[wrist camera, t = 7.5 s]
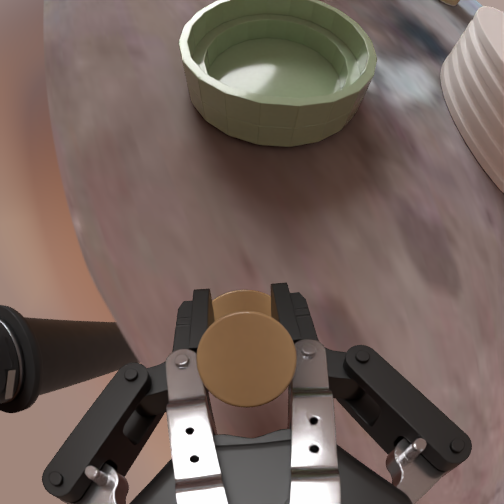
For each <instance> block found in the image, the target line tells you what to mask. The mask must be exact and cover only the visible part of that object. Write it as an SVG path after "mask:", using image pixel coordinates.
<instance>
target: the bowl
mask: <svg viewBox="0 0 504 504" xmlns="http://www.w3.org/2000/svg"><path fill="white" fill-rule="evenodd" d="M179 48H180V53H181V57H182V62H183V67H184V71H185V76H186V80H187V85H188V89H189V93H190V98H191V102H192V104H193V105H194V106H195V108H196V109H197V110H198V111H199V113H200V114H201V115H202V117H203V118H204V119H205V120H206V121H207V122H209V123H210V124H212V125H213V126H215V127H216V128H218V129H219V130H221V131H222V132H224V133H226V134H227V135H229V136H232V137H235V138H239V139H242V140H245V141H248V142H251V143H254V144H258V145H269V146H283V147H292V146H298V145H303V144H309V143H314V142H319V141H321V140H323V139H325V138H327V137H329V136H331V135H333V134H335V133H337V132H339V131H341V130H342V129H343V128H344V126H345V125H346V124H347V123H348V122H349V121H350V119H351V118H352V117H353V116H354V115H355V113H356V111H357V109H358V107H359V105H360V103H361V101H362V99H363V97H364V95H365V93H366V91H367V89H368V87H369V84H370V82H371V80H372V78H373V76H374V72H375V67H376V62H377V57H376V53H375V50H374V47H373V44H372V41H371V39H370V38H369V37H368V35H367V34H366V33H365V32H364V30H363V29H362V28H361V27H360V25H359V24H358V23H356V22H355V21H354V20H352V19H351V18H350V17H348V16H347V15H346V14H344V13H343V12H342V11H340V10H338V9H336V8H334V7H332V6H330V5H328V4H325V3H323V2H321V1H319V0H218V1H216V2H214V3H212V4H210V5H209V6H207V7H205V8H203V9H201V10H200V11H199V12H197V13H196V14H195V15H194V16H193V17H192V18H191V19H190V20H189V21H188V23H187V24H186V25H185V26H184V28H183V31H182V34H181V37H180V40H179Z"/></svg>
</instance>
